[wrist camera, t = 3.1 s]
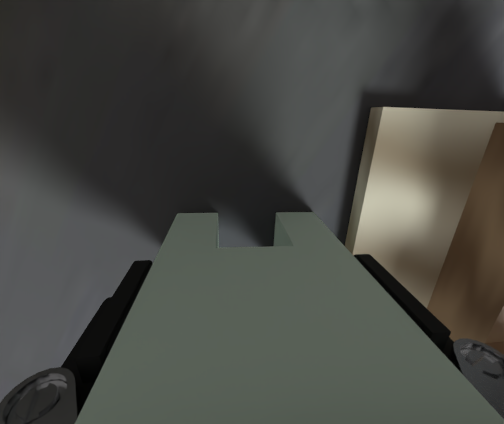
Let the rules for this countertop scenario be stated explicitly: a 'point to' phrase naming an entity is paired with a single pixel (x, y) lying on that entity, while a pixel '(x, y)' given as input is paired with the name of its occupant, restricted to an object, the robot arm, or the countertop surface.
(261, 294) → the crosspiece
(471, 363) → the robot arm
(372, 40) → the countertop surface
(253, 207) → the countertop surface
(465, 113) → the slotted base
